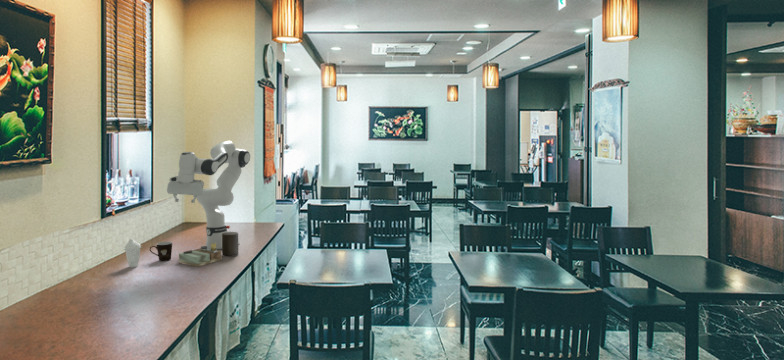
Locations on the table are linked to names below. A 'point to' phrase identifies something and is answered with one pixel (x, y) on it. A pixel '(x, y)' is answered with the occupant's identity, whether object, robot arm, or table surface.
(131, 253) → the soft serve ice cream cone
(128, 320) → the table surface
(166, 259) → the coffee mug
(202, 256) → the door board
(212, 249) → the bar
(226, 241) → the pillar candle
